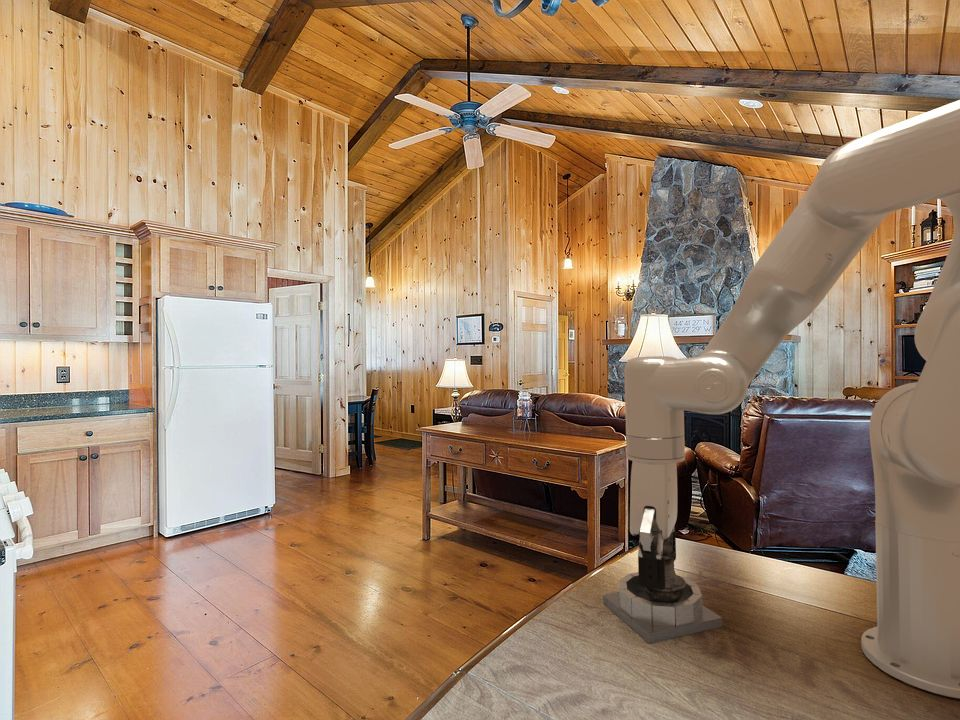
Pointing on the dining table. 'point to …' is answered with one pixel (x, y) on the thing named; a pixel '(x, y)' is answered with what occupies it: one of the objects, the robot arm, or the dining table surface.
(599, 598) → the dining table surface
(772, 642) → the dining table surface
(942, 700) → the dining table surface
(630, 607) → the hub plate
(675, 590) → the salt shaker
